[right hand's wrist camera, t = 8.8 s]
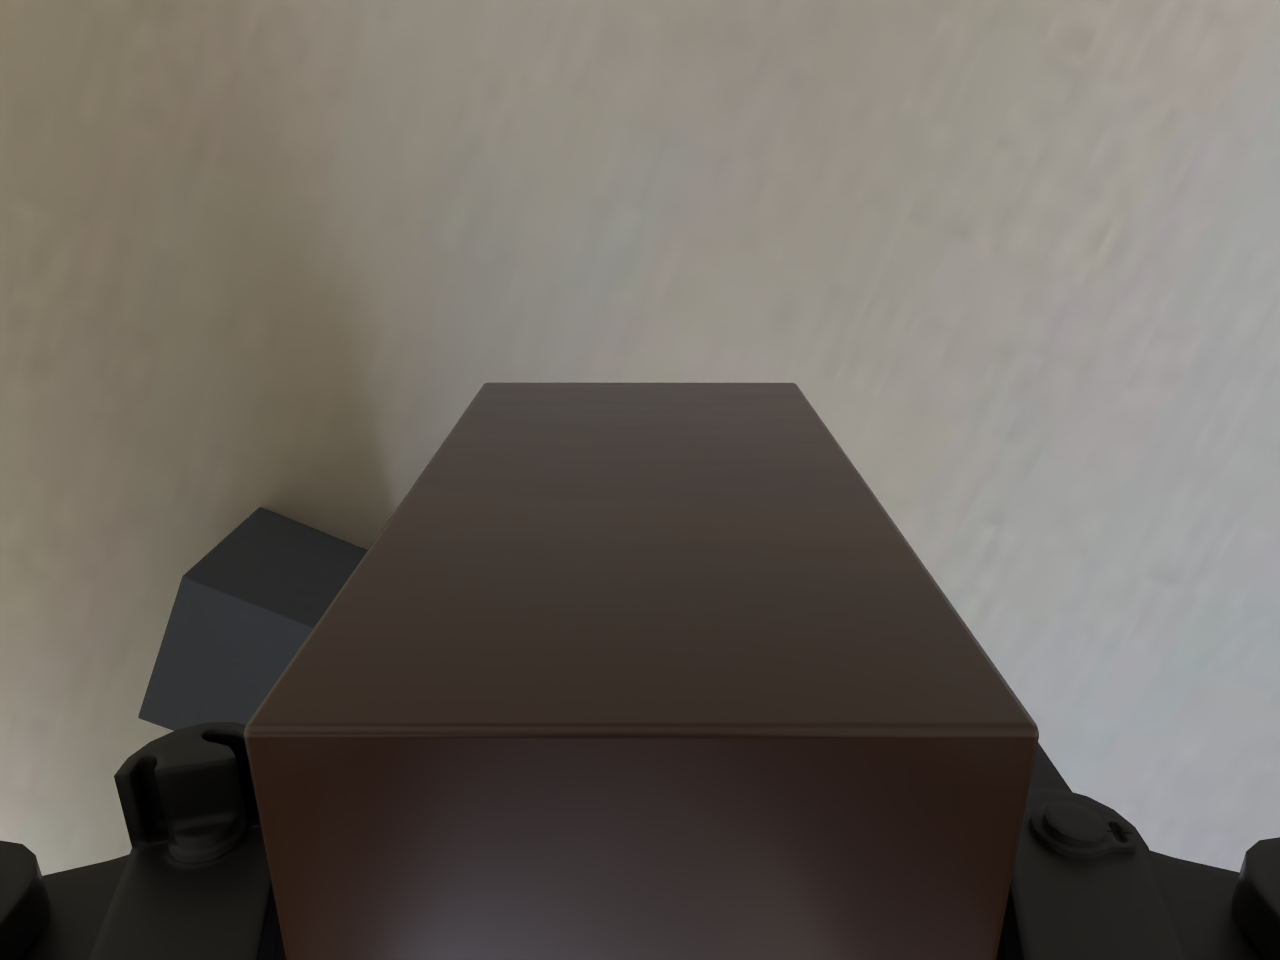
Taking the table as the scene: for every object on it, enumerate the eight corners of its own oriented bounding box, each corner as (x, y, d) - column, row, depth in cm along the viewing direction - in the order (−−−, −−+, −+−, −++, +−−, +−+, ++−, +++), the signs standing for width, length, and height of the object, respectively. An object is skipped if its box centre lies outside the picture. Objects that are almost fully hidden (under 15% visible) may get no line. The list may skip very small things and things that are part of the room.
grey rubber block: (259, 506, 28) (181, 575, 23) (405, 565, 29) (360, 644, 24) (217, 630, 29) (136, 718, 25) (357, 683, 30) (305, 779, 25)
